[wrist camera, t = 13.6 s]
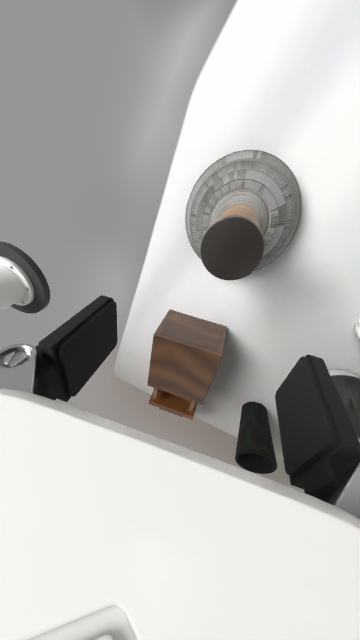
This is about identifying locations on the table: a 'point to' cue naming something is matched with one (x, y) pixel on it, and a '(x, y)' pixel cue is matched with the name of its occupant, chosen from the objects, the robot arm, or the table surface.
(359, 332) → the stomach
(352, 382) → the pump dispenser
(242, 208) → the pepper mill
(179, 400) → the drawer
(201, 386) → the cabinet
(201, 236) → the flying saucer
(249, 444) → the cup
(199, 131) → the table surface
